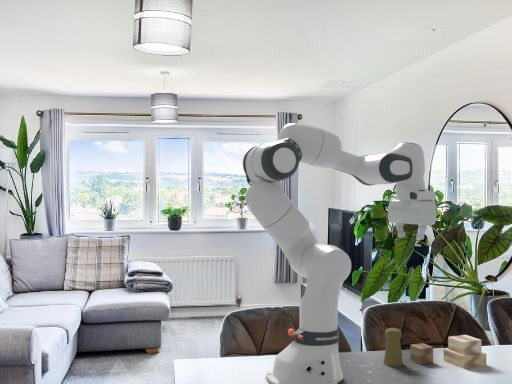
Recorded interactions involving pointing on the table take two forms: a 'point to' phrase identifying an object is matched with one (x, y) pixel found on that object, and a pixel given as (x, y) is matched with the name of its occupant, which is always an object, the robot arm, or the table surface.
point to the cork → (393, 348)
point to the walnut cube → (421, 353)
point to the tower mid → (464, 344)
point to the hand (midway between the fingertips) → (410, 238)
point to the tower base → (465, 359)
